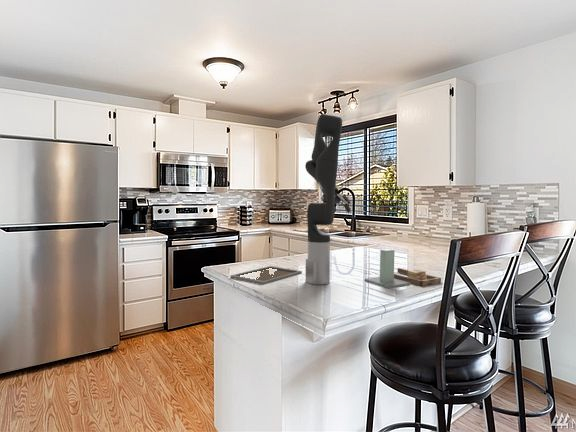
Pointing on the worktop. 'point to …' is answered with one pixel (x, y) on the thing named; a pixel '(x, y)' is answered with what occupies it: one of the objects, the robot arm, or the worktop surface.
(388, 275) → the sage green block
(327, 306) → the worktop surface
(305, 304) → the worktop surface
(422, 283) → the walnut rack
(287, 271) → the dark grey tray
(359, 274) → the worktop surface
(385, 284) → the slate tile
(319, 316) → the worktop surface
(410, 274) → the oak offcut stack
